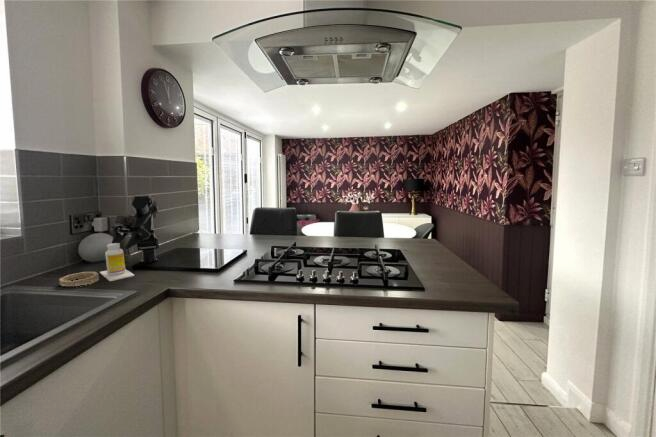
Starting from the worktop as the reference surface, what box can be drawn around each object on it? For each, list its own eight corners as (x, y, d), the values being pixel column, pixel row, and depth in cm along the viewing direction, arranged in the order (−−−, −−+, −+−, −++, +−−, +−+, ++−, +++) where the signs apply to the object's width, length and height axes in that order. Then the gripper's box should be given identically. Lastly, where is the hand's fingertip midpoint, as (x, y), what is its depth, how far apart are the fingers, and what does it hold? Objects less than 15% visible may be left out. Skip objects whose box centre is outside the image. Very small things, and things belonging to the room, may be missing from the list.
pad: (100, 273, 143) (99, 271, 143) (123, 268, 149) (123, 267, 149) (109, 281, 132) (109, 280, 132) (134, 275, 138) (134, 274, 138)
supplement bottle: (128, 272, 142) (125, 243, 140) (112, 276, 136) (108, 246, 134) (121, 269, 145) (117, 241, 143) (104, 273, 140) (101, 244, 138)
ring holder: (58, 282, 131) (57, 276, 131) (94, 275, 140) (93, 269, 139) (63, 290, 123) (62, 283, 122) (101, 281, 131) (100, 276, 131)
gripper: (112, 207, 147) (89, 236, 139) (141, 209, 140) (119, 239, 131) (130, 222, 155) (110, 249, 147) (158, 224, 148) (138, 253, 140)
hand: (118, 247), depth 141 cm, fingers open, 9 cm apart
